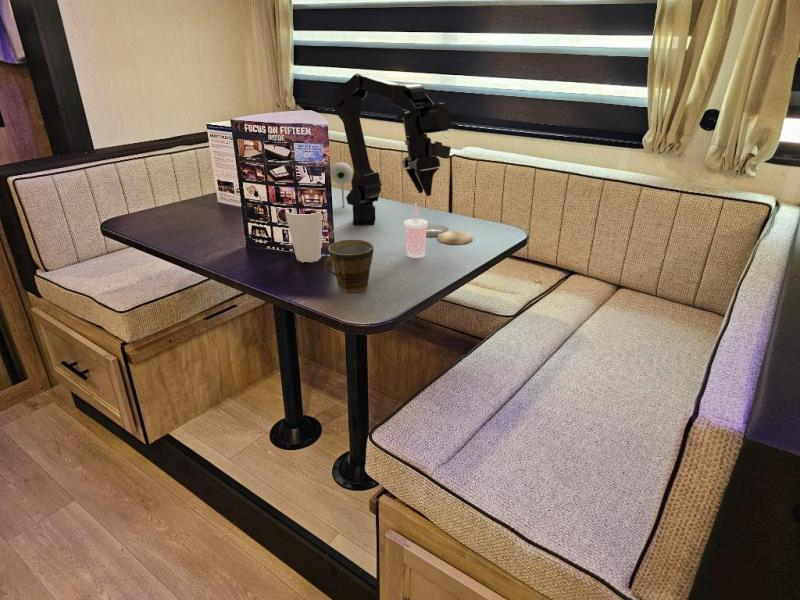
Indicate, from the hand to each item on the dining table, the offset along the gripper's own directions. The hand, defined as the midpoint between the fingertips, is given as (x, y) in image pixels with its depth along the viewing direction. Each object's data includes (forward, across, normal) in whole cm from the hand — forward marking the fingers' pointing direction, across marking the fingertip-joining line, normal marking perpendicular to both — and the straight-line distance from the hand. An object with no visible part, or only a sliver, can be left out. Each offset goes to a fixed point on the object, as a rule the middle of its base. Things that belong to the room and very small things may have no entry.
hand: (424, 194), depth 148 cm
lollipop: (+5, +41, +20) cm, 46 cm away
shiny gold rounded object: (+14, +1, -7) cm, 16 cm away
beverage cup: (+14, -9, +7) cm, 18 cm away
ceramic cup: (+15, -27, +27) cm, 41 cm away
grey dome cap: (+12, +9, -2) cm, 15 cm away
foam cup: (+10, -5, +34) cm, 36 cm away
